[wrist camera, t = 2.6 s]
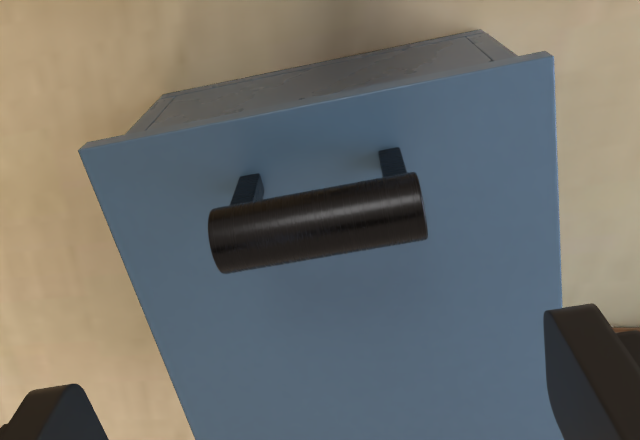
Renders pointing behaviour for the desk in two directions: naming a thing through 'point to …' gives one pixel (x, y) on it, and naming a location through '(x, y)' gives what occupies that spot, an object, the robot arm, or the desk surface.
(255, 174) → the lid
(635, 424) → the robot arm
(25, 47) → the desk surface
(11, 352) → the desk surface
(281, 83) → the compartment
